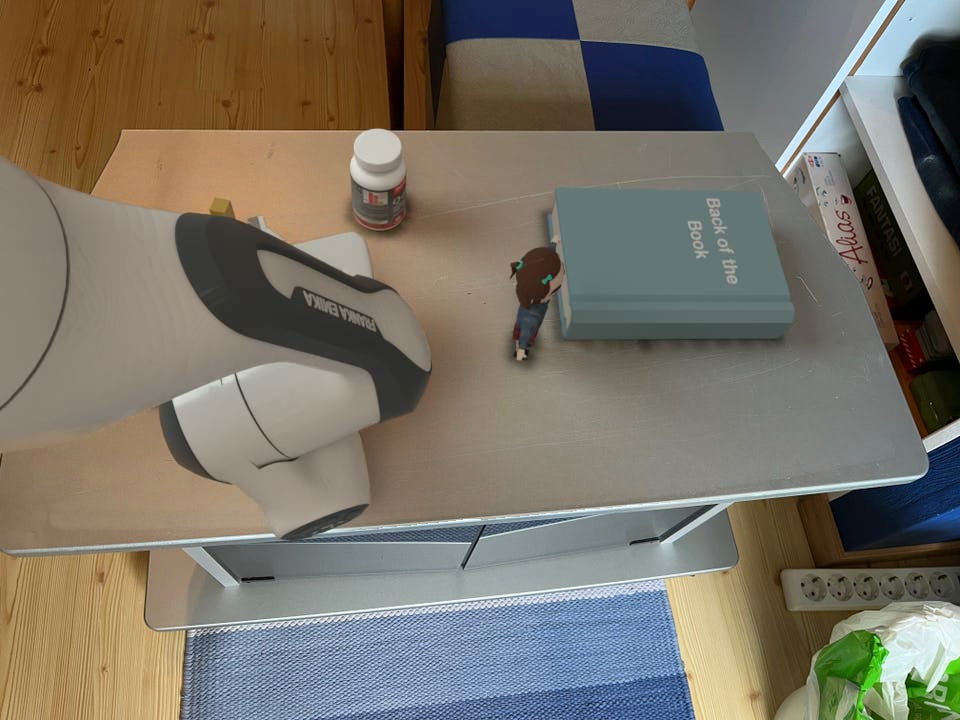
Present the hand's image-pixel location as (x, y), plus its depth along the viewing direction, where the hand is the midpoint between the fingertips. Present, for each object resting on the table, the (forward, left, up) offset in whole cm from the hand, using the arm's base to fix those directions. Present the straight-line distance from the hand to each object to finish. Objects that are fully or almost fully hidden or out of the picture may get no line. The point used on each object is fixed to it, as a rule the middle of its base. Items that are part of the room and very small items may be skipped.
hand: (241, 223), depth 68 cm
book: (+40, -13, -9) cm, 43 cm away
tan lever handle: (-3, -2, -5) cm, 6 cm away
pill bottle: (+14, +4, -9) cm, 17 cm away
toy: (+22, -16, -9) cm, 29 cm away
